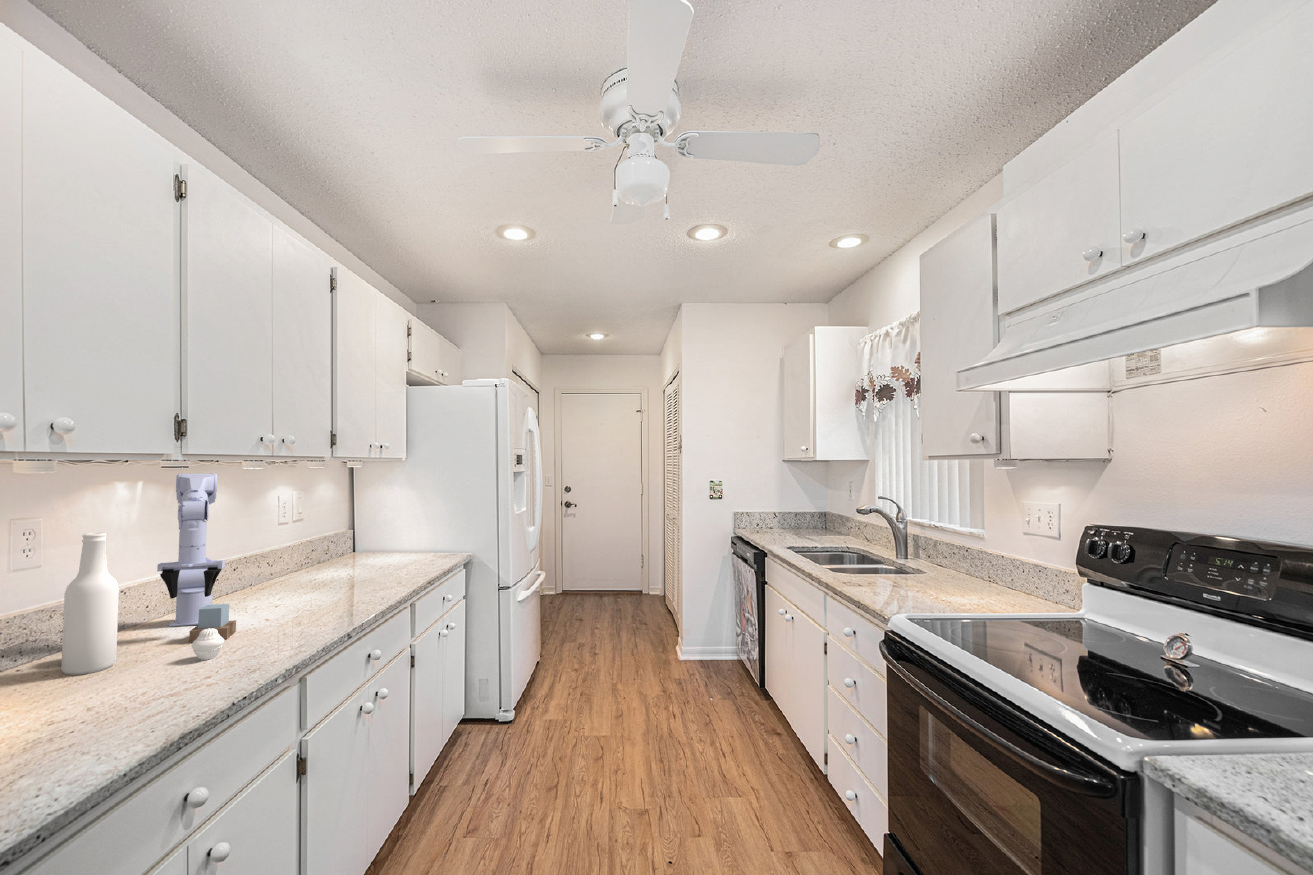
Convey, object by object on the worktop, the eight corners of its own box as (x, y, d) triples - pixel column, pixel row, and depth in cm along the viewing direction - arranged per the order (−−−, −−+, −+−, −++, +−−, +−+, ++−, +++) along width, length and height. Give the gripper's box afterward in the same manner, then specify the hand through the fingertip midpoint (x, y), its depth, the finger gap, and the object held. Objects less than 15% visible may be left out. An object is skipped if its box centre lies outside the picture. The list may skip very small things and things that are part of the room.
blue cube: (206, 623, 156) (207, 604, 157) (228, 622, 158) (229, 603, 158) (198, 628, 152) (198, 609, 152) (220, 627, 153) (221, 608, 153)
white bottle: (124, 665, 133) (130, 532, 135) (74, 678, 125) (80, 536, 126) (102, 660, 137) (107, 530, 138) (52, 673, 128) (58, 534, 130)
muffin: (230, 654, 141) (231, 624, 141) (207, 663, 135) (208, 632, 135) (208, 653, 142) (208, 623, 142) (184, 661, 136) (185, 631, 136)
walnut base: (200, 636, 157) (200, 623, 157) (235, 633, 160) (236, 620, 160) (189, 645, 150) (189, 631, 150) (226, 641, 153) (227, 627, 153)
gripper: (152, 549, 152) (150, 602, 151) (218, 546, 156) (216, 598, 156) (165, 545, 158) (163, 596, 158) (228, 543, 163) (227, 592, 162)
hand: (190, 596), depth 157 cm, fingers open, 7 cm apart
